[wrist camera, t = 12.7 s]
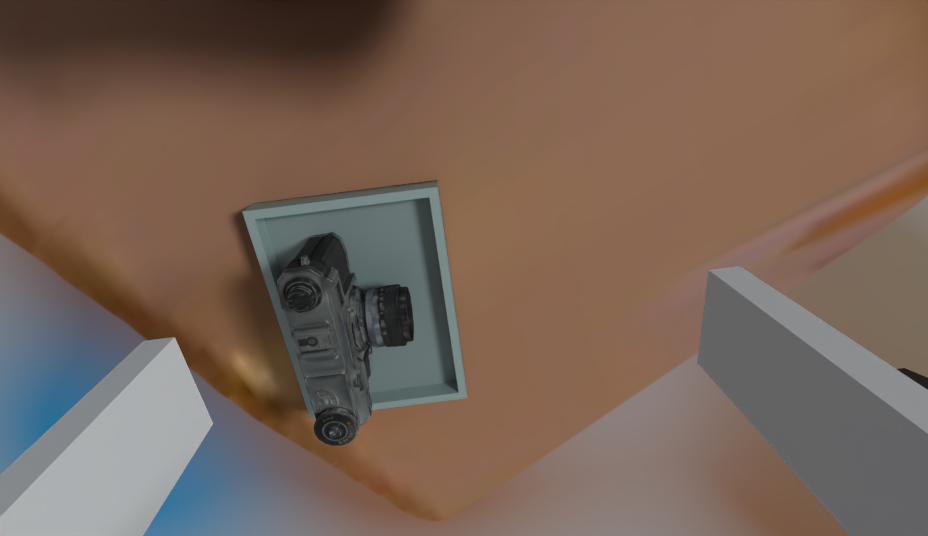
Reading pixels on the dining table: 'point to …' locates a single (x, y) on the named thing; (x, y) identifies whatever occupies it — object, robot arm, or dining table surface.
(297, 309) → the camera
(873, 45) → the dining table surface
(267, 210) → the storage tray
